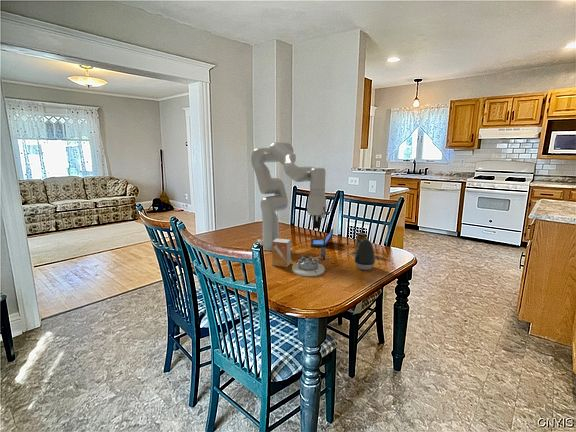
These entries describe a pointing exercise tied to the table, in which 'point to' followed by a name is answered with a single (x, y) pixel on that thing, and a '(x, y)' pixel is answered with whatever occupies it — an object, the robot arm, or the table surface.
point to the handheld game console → (321, 241)
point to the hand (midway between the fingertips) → (316, 227)
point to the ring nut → (311, 261)
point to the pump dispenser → (364, 255)
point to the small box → (281, 252)
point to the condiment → (360, 237)
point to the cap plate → (308, 273)
